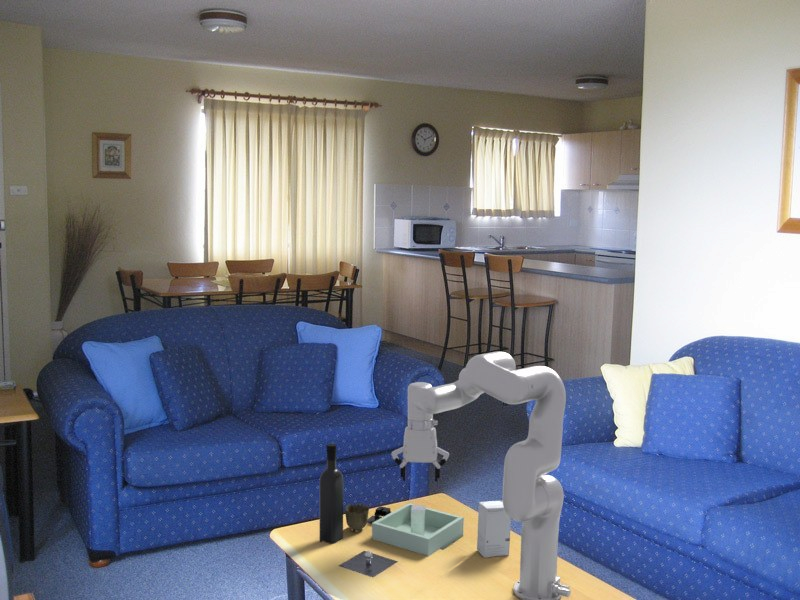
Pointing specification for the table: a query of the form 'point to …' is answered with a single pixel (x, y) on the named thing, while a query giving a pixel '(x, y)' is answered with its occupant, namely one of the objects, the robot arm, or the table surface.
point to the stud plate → (368, 563)
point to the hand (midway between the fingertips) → (420, 479)
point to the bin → (437, 534)
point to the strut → (418, 519)
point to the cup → (356, 516)
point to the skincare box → (493, 529)
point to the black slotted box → (379, 514)
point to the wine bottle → (331, 500)
